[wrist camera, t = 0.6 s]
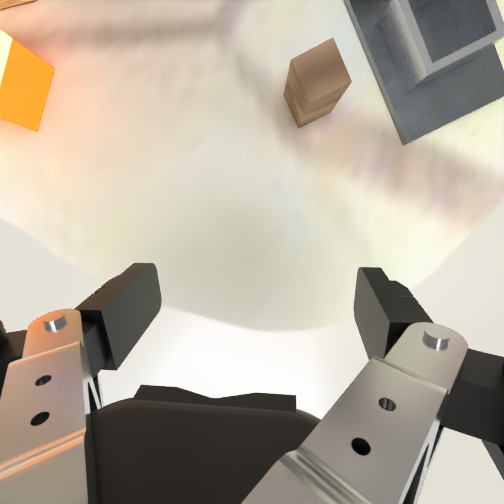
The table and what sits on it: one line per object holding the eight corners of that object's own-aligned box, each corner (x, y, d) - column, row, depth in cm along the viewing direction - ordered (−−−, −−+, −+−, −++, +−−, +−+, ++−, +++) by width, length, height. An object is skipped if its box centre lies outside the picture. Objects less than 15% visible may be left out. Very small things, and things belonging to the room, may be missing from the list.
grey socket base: (339, -10, 32) (354, -49, 28) (444, -66, 32) (479, -118, 27) (403, 144, 34) (427, 133, 29) (504, 95, 33) (546, 75, 28)
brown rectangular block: (283, 95, 34) (290, 59, 26) (315, 78, 34) (332, 37, 26) (298, 128, 34) (310, 102, 27) (330, 112, 34) (351, 81, 26)
